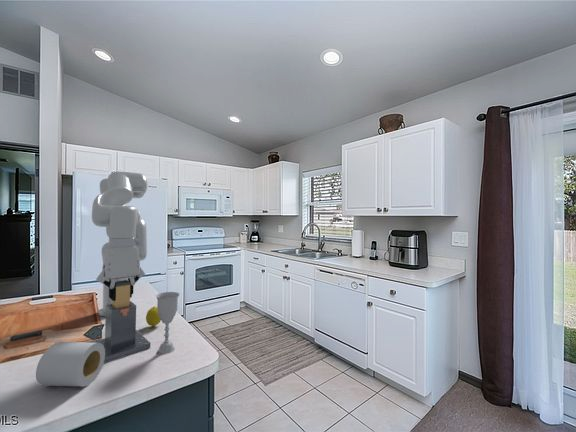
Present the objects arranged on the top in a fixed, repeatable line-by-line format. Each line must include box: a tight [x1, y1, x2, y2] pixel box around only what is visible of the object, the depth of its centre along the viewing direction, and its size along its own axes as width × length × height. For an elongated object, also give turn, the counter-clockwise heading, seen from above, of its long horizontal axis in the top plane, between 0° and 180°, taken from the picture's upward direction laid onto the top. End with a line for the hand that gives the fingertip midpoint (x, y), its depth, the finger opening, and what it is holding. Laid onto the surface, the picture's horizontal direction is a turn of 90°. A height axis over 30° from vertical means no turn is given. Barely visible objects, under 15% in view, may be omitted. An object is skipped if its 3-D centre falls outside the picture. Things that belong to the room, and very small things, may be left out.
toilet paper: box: [35, 341, 105, 387], centre depth 70 cm, size 10×10×10 cm
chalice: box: [155, 291, 180, 354], centre depth 88 cm, size 7×7×18 cm
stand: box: [89, 300, 151, 364], centre depth 88 cm, size 14×14×14 cm
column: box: [112, 280, 131, 309], centre depth 88 cm, size 4×4×19 cm
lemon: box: [145, 305, 162, 328], centre depth 105 cm, size 6×6×8 cm
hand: (121, 297), depth 88 cm, fingers closed on column, 4 cm apart
